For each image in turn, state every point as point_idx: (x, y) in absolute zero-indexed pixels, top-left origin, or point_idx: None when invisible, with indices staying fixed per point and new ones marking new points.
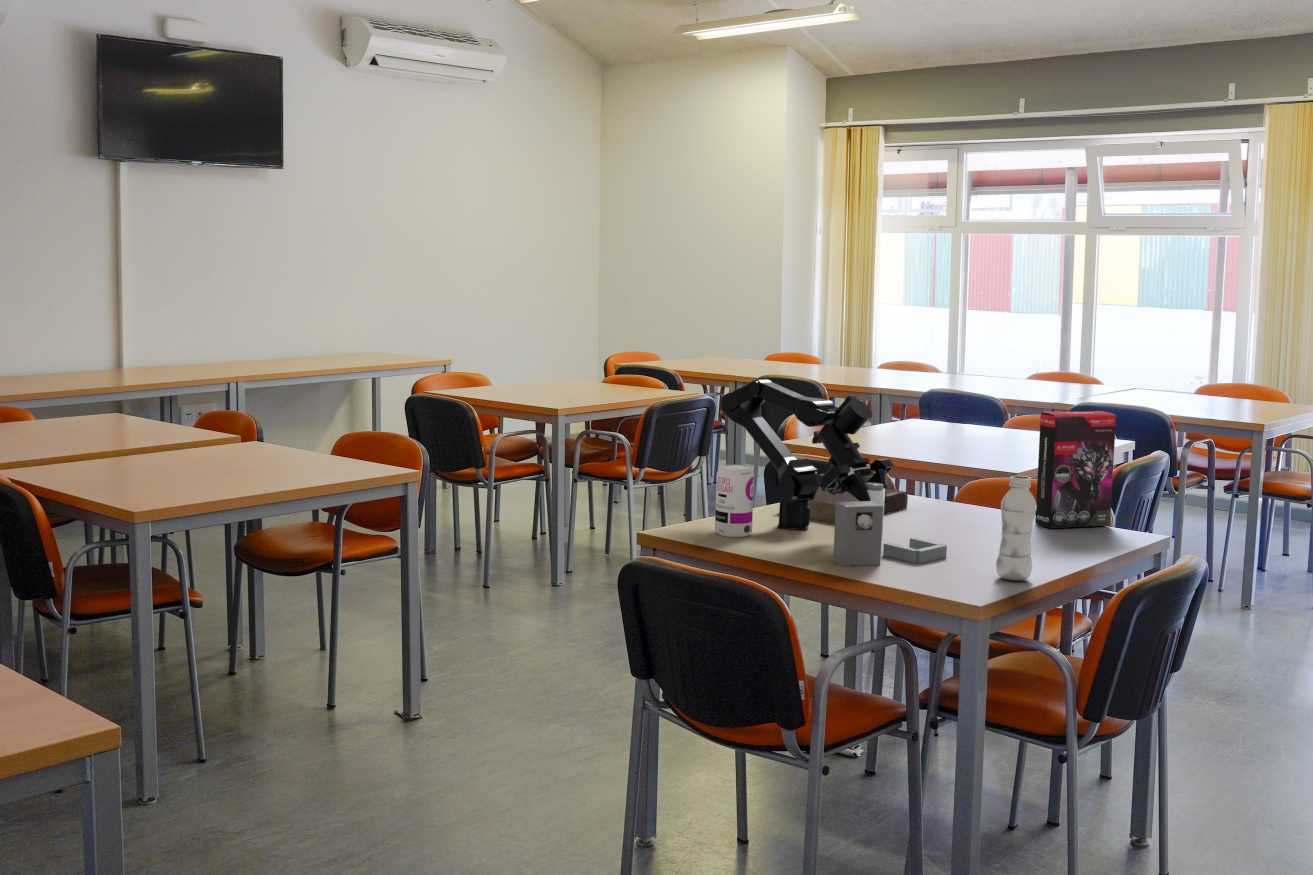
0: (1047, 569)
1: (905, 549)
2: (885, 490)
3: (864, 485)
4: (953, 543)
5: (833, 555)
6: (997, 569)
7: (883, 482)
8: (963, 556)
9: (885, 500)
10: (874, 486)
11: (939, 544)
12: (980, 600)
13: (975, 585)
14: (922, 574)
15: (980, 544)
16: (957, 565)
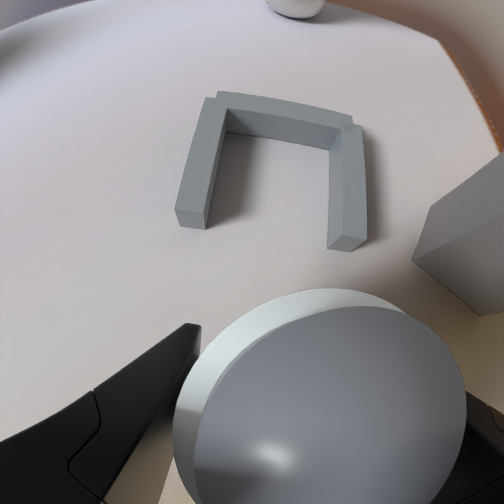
0: (174, 2)
1: (363, 157)
2: (129, 370)
3: (493, 436)
4: (35, 182)
5: (488, 313)
6: (319, 9)
7: (81, 434)
8: (171, 96)
9: (199, 333)
10: (450, 357)
11: (220, 107)
12: (422, 38)
13: (375, 41)
14: (406, 109)
15: (19, 138)
16: (276, 76)
